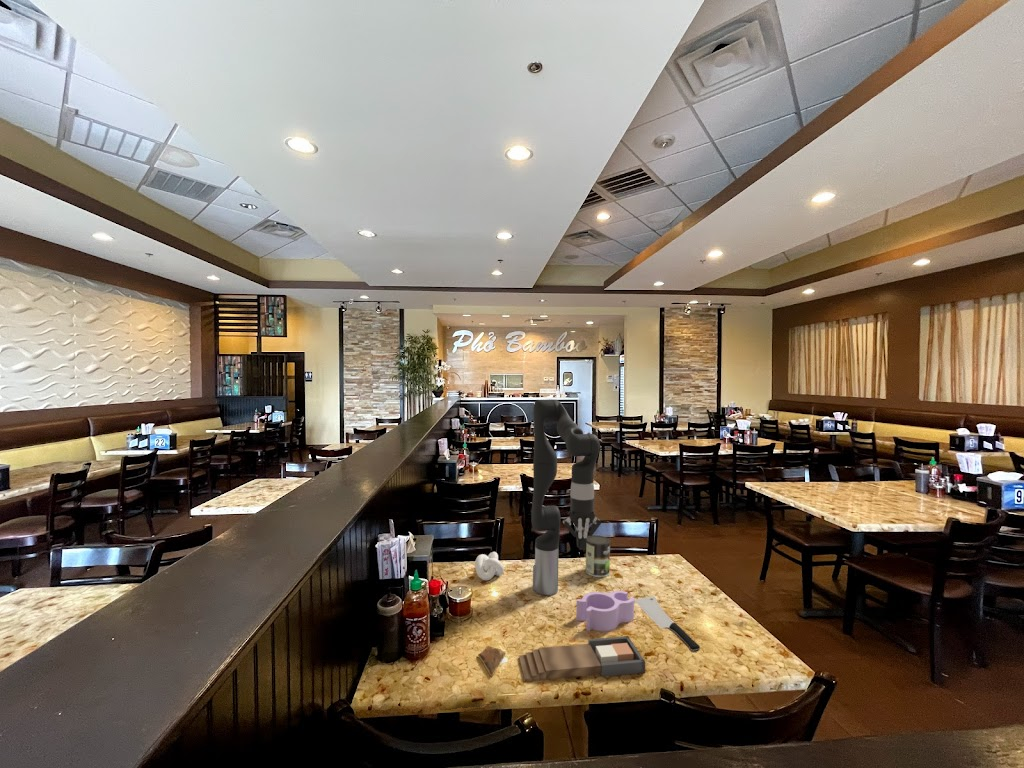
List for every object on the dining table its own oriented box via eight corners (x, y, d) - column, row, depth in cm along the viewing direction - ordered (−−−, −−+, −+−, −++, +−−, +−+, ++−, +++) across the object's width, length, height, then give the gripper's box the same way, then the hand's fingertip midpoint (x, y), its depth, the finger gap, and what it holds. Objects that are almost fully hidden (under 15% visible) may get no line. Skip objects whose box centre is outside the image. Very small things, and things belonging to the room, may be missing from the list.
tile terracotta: (617, 664, 126) (617, 654, 126) (610, 653, 131) (611, 644, 130) (633, 663, 126) (633, 653, 126) (626, 652, 131) (626, 642, 131)
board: (545, 679, 120) (546, 670, 120) (538, 656, 130) (538, 647, 130) (600, 674, 122) (600, 665, 122) (589, 651, 132) (589, 643, 132)
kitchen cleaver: (628, 598, 162) (652, 593, 164) (629, 603, 162) (653, 597, 164) (675, 652, 132) (704, 644, 134) (676, 657, 132) (705, 650, 134)
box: (601, 676, 121) (601, 665, 121) (588, 649, 133) (588, 639, 133) (645, 672, 123) (645, 661, 123) (627, 646, 135) (628, 636, 135)
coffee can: (613, 570, 187) (613, 538, 186) (604, 579, 178) (605, 546, 178) (591, 564, 192) (591, 533, 192) (581, 573, 184) (582, 540, 183)
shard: (491, 680, 120) (491, 673, 120) (467, 672, 123) (467, 666, 123) (506, 656, 130) (506, 650, 130) (484, 650, 133) (484, 644, 133)
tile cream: (601, 667, 125) (601, 657, 125) (595, 655, 130) (595, 646, 129) (617, 665, 125) (617, 655, 125) (611, 654, 130) (611, 644, 130)
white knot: (474, 569, 186) (474, 549, 186) (502, 568, 187) (502, 548, 187) (475, 582, 175) (475, 560, 175) (504, 581, 176) (504, 559, 176)
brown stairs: (524, 681, 119) (524, 674, 119) (519, 657, 129) (519, 650, 129) (545, 679, 120) (546, 672, 120) (538, 655, 130) (538, 649, 130)
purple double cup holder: (620, 605, 159) (620, 586, 159) (641, 623, 148) (641, 603, 147) (572, 615, 152) (572, 596, 152) (591, 635, 140) (591, 615, 140)
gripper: (565, 499, 134) (564, 554, 134) (606, 498, 136) (605, 552, 136) (559, 493, 141) (558, 545, 142) (597, 491, 143) (597, 543, 143)
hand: (581, 548), depth 139 cm, fingers closed
